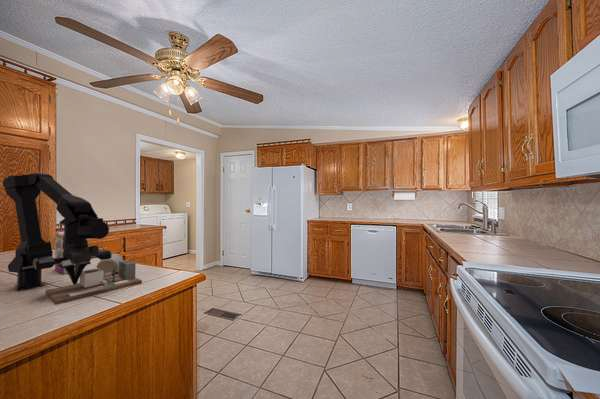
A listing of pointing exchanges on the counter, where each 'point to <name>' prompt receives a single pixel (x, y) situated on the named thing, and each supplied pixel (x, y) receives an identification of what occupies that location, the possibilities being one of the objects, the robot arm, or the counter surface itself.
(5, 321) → the counter surface
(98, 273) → the gauge
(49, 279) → the counter surface
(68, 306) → the counter surface
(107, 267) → the ceramic mug
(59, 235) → the candy bar box
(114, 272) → the peak needle
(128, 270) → the test rig
